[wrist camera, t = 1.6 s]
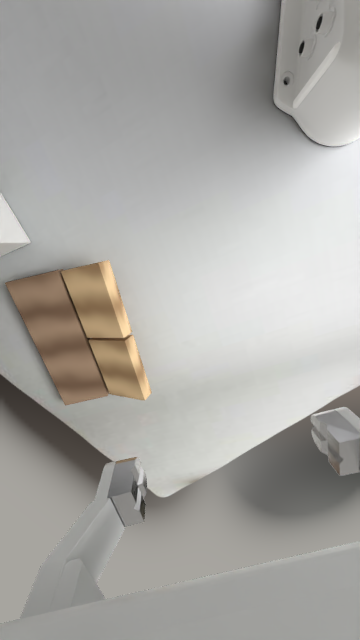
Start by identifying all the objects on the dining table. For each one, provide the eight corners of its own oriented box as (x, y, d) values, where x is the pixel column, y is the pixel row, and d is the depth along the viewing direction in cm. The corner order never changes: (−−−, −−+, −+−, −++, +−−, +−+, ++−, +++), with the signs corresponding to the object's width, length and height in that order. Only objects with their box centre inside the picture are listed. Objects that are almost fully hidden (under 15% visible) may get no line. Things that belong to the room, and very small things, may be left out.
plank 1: (72, 268, 34) (60, 271, 33) (108, 260, 31) (98, 262, 29) (96, 332, 38) (87, 337, 36) (132, 332, 34) (123, 337, 33)
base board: (13, 280, 35) (4, 282, 33) (62, 268, 35) (56, 270, 33) (69, 398, 42) (65, 405, 41) (110, 389, 42) (107, 395, 40)
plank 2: (97, 334, 38) (88, 340, 37) (133, 334, 34) (124, 341, 33) (117, 387, 42) (109, 394, 40) (151, 392, 38) (144, 400, 36)
